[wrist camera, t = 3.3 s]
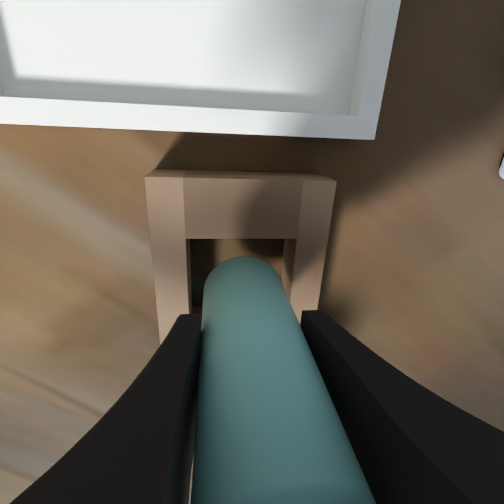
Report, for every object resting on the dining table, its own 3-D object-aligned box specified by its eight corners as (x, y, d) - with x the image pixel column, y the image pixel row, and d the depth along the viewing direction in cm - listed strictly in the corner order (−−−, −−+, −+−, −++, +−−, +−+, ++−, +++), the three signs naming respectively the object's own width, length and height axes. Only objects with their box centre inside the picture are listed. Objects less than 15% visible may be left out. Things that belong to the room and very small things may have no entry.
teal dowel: (284, 256, 12) (401, 473, 4) (278, 323, 13) (361, 578, 6) (202, 256, 11) (182, 496, 4) (204, 325, 13) (191, 605, 5)
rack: (154, 168, 12) (144, 176, 10) (319, 173, 13) (336, 181, 11) (177, 456, 19) (174, 491, 17) (284, 446, 20) (291, 478, 18)
